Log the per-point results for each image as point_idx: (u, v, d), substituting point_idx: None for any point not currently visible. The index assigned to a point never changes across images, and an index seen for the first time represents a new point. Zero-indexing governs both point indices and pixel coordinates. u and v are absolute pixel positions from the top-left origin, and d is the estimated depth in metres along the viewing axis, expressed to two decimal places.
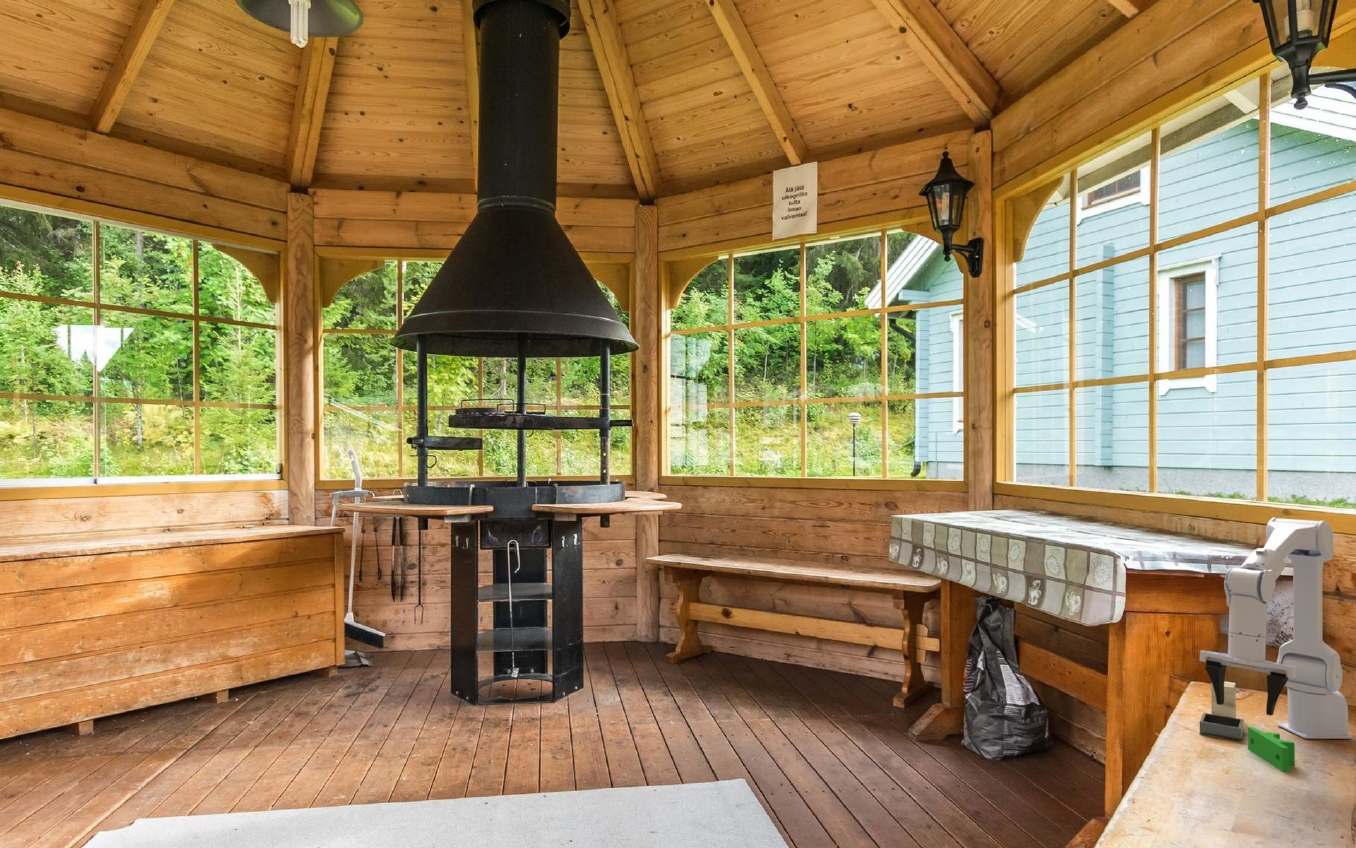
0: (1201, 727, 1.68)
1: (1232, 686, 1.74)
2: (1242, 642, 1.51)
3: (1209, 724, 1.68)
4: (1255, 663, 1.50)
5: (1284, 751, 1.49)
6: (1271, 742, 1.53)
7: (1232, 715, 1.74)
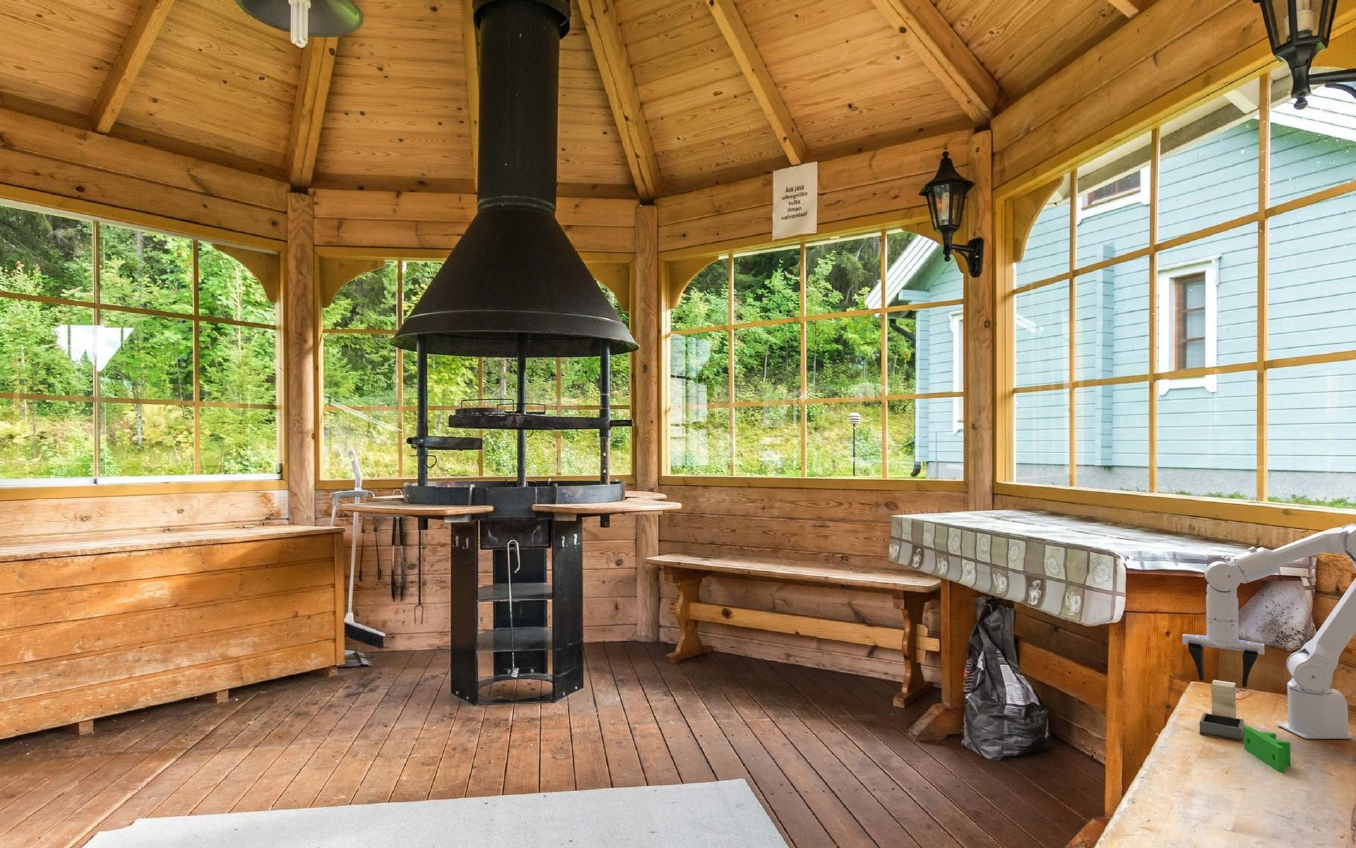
0: (1201, 727, 1.68)
1: (1232, 686, 1.74)
2: (1220, 627, 1.74)
3: (1209, 724, 1.68)
4: (1232, 644, 1.73)
5: (1280, 751, 1.49)
6: (1267, 742, 1.53)
7: (1232, 715, 1.74)
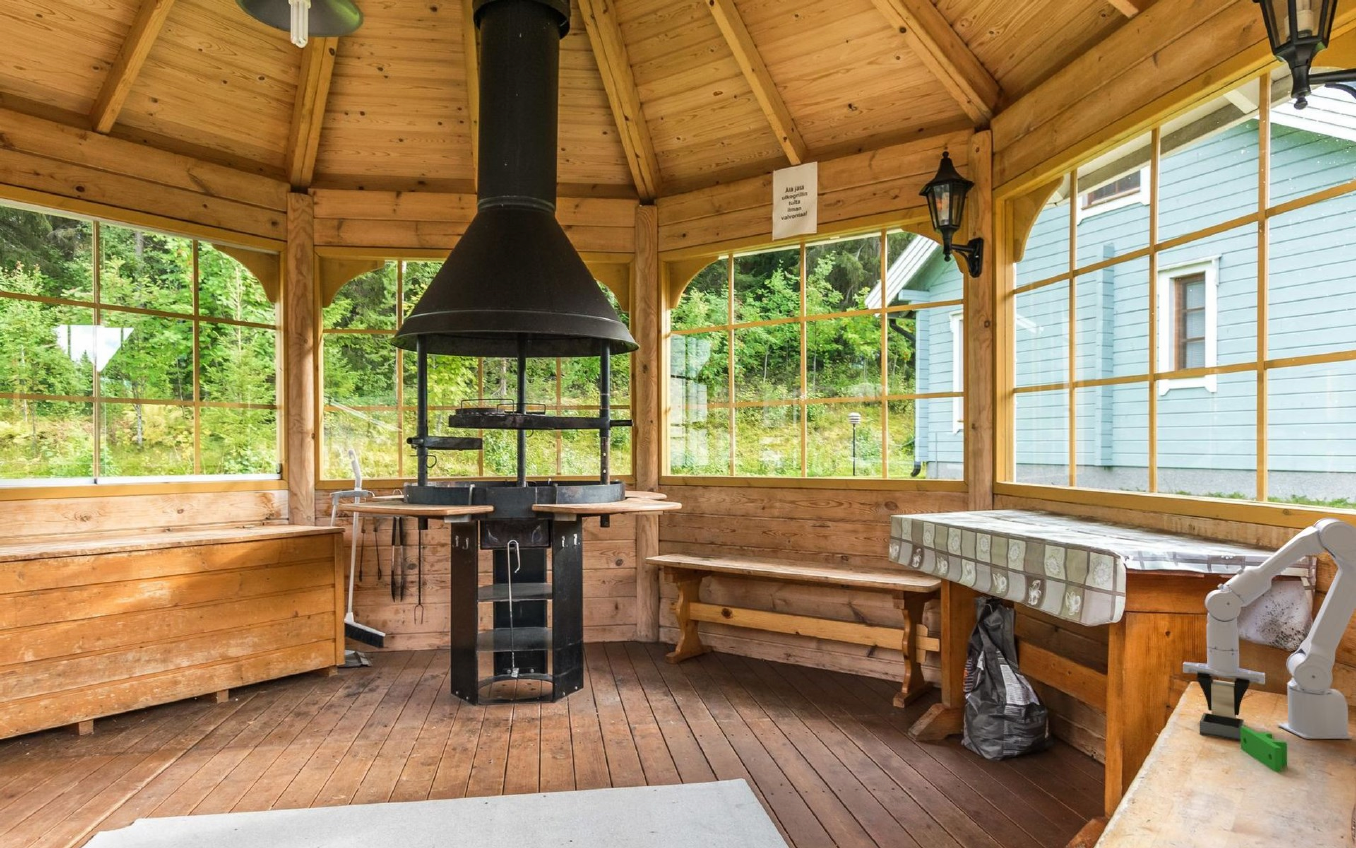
0: (1201, 727, 1.68)
1: (1232, 686, 1.74)
2: (1220, 656, 1.74)
3: (1209, 724, 1.68)
4: (1232, 674, 1.73)
5: (1276, 751, 1.49)
6: (1263, 742, 1.53)
7: (1232, 715, 1.74)
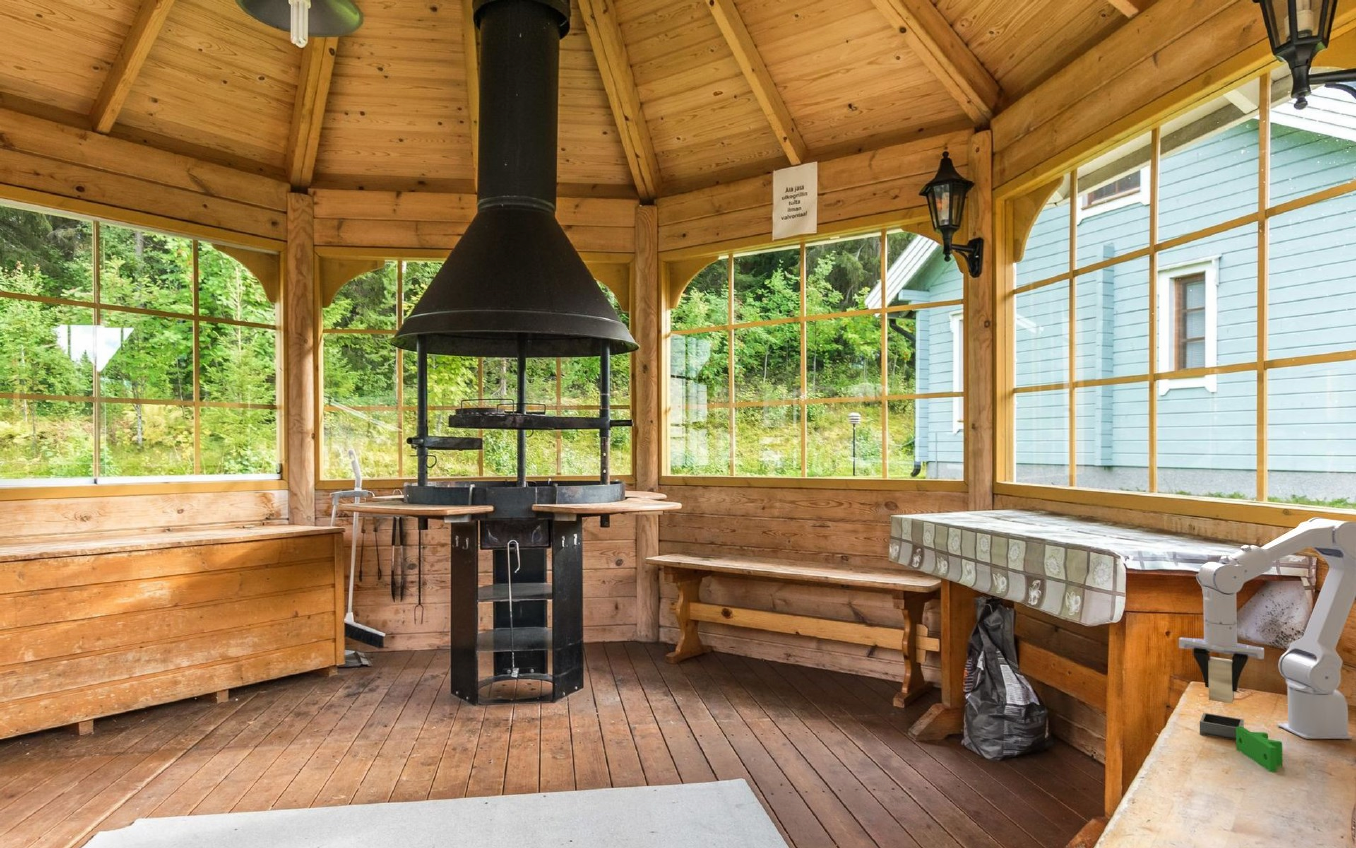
0: (1201, 727, 1.68)
1: (1230, 662, 1.68)
2: (1218, 630, 1.67)
3: (1209, 724, 1.68)
4: (1230, 648, 1.66)
5: (1271, 750, 1.49)
6: (1259, 742, 1.53)
7: (1230, 692, 1.67)
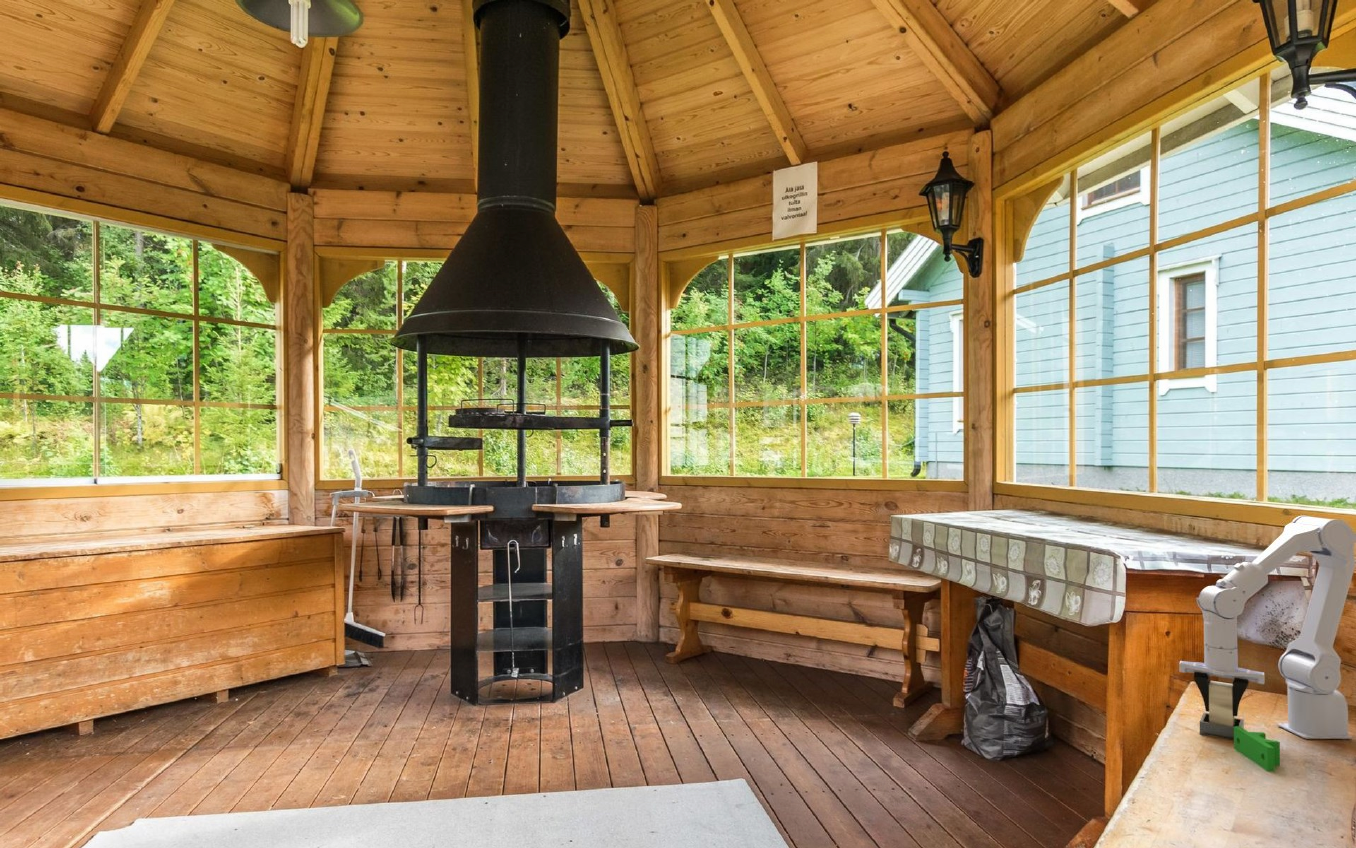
0: (1201, 727, 1.68)
1: (1230, 687, 1.68)
2: (1218, 655, 1.67)
3: (1209, 724, 1.68)
4: (1230, 673, 1.66)
5: (1269, 750, 1.49)
6: (1256, 741, 1.53)
7: (1230, 717, 1.67)
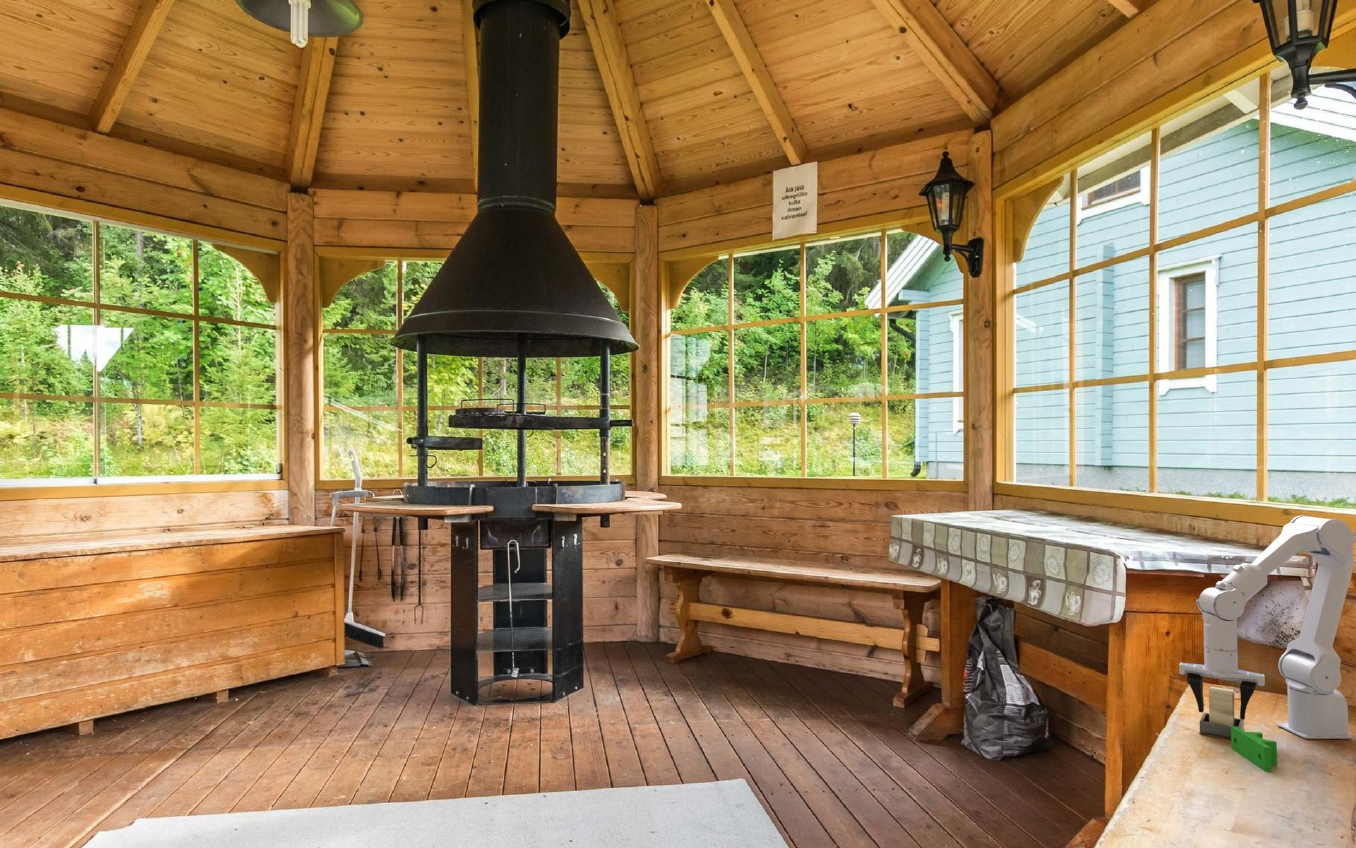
0: (1201, 727, 1.68)
1: (1230, 693, 1.67)
2: (1218, 657, 1.67)
3: (1209, 724, 1.68)
4: (1231, 675, 1.66)
5: (1266, 750, 1.50)
6: (1253, 741, 1.53)
7: (1230, 724, 1.67)
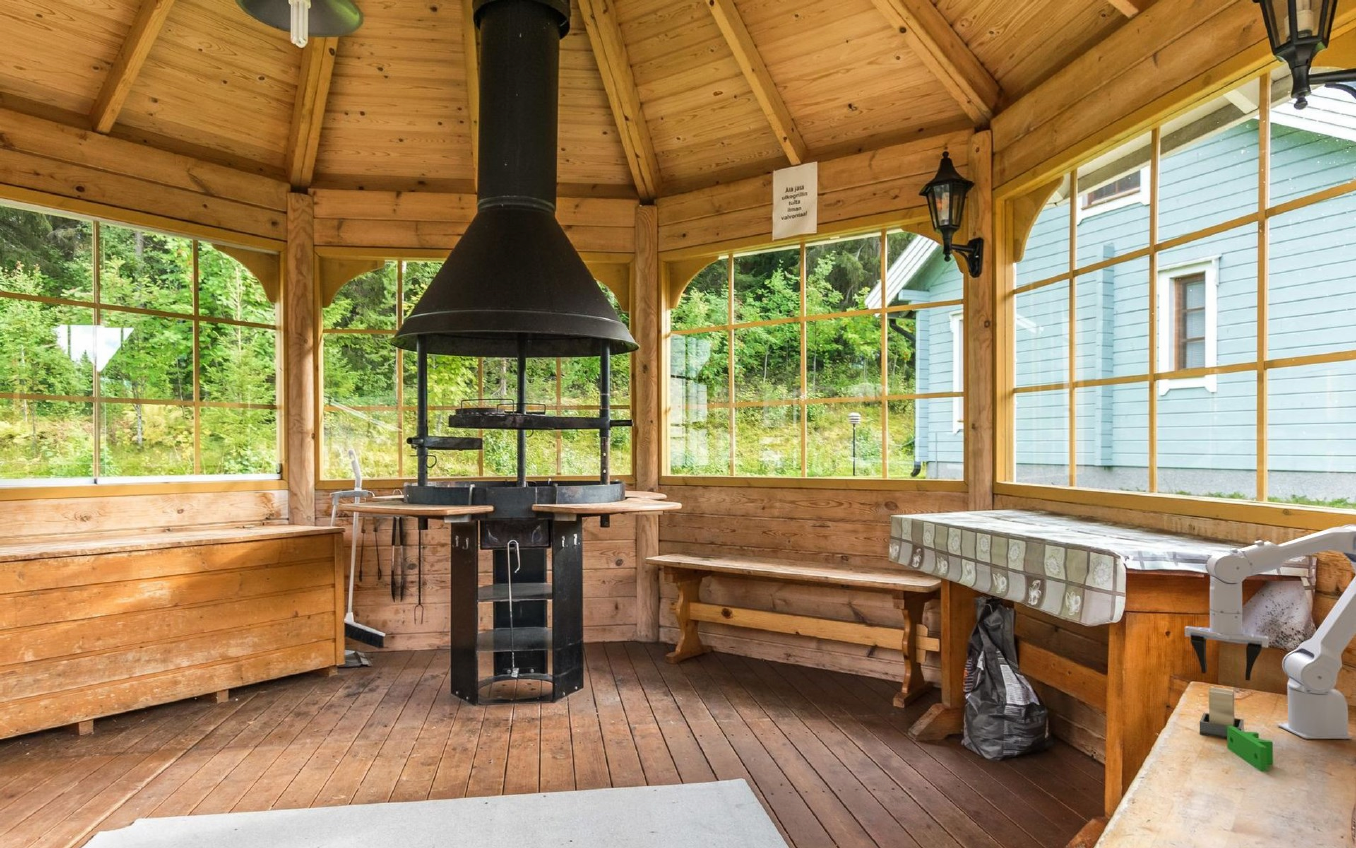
0: (1201, 727, 1.68)
1: (1230, 693, 1.67)
2: (1224, 619, 1.71)
3: (1209, 724, 1.68)
4: (1235, 637, 1.70)
5: (1262, 750, 1.50)
6: (1249, 741, 1.53)
7: (1230, 724, 1.67)
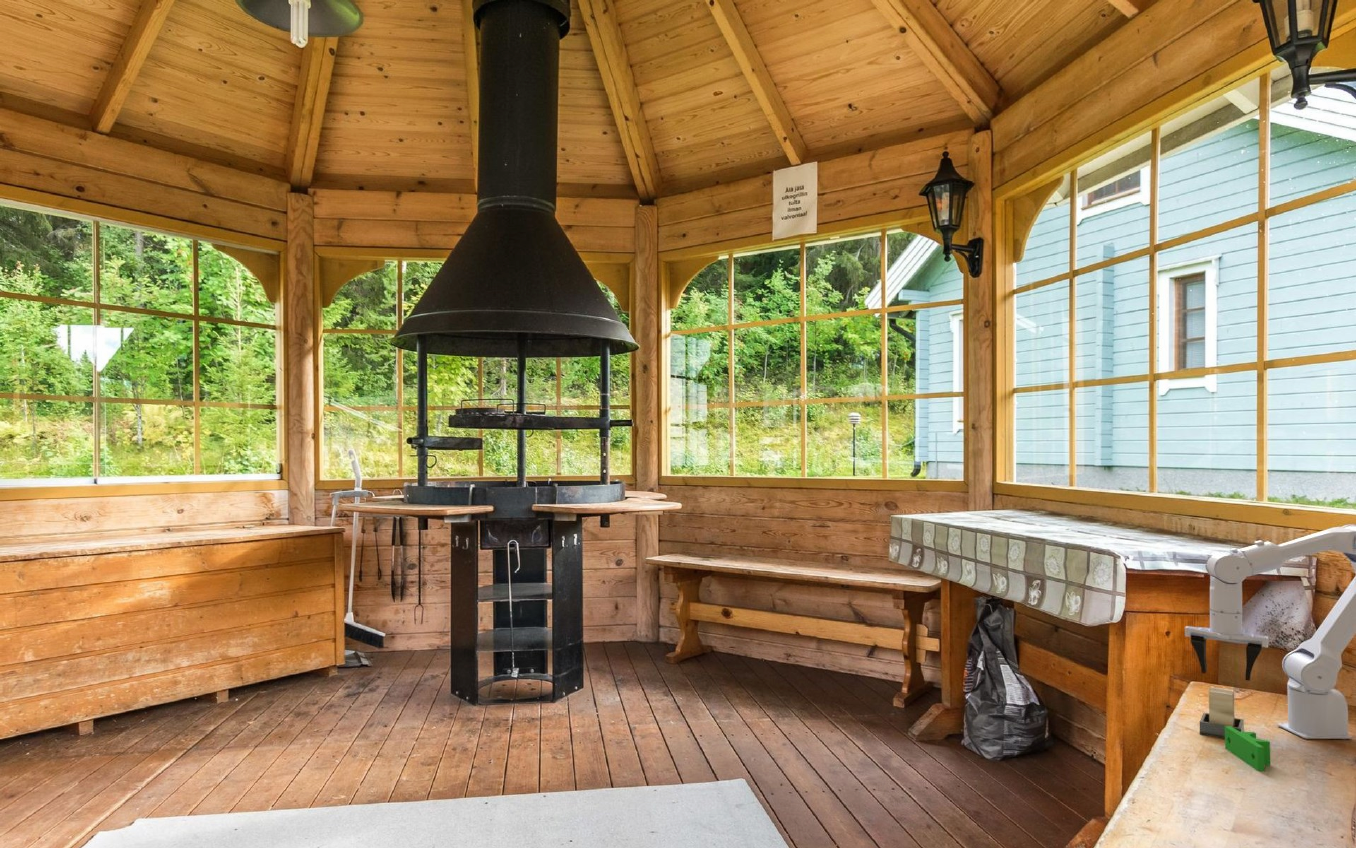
0: (1201, 727, 1.68)
1: (1230, 693, 1.67)
2: (1224, 619, 1.71)
3: (1209, 724, 1.68)
4: (1235, 637, 1.70)
5: (1259, 750, 1.50)
6: (1247, 741, 1.53)
7: (1230, 724, 1.67)
